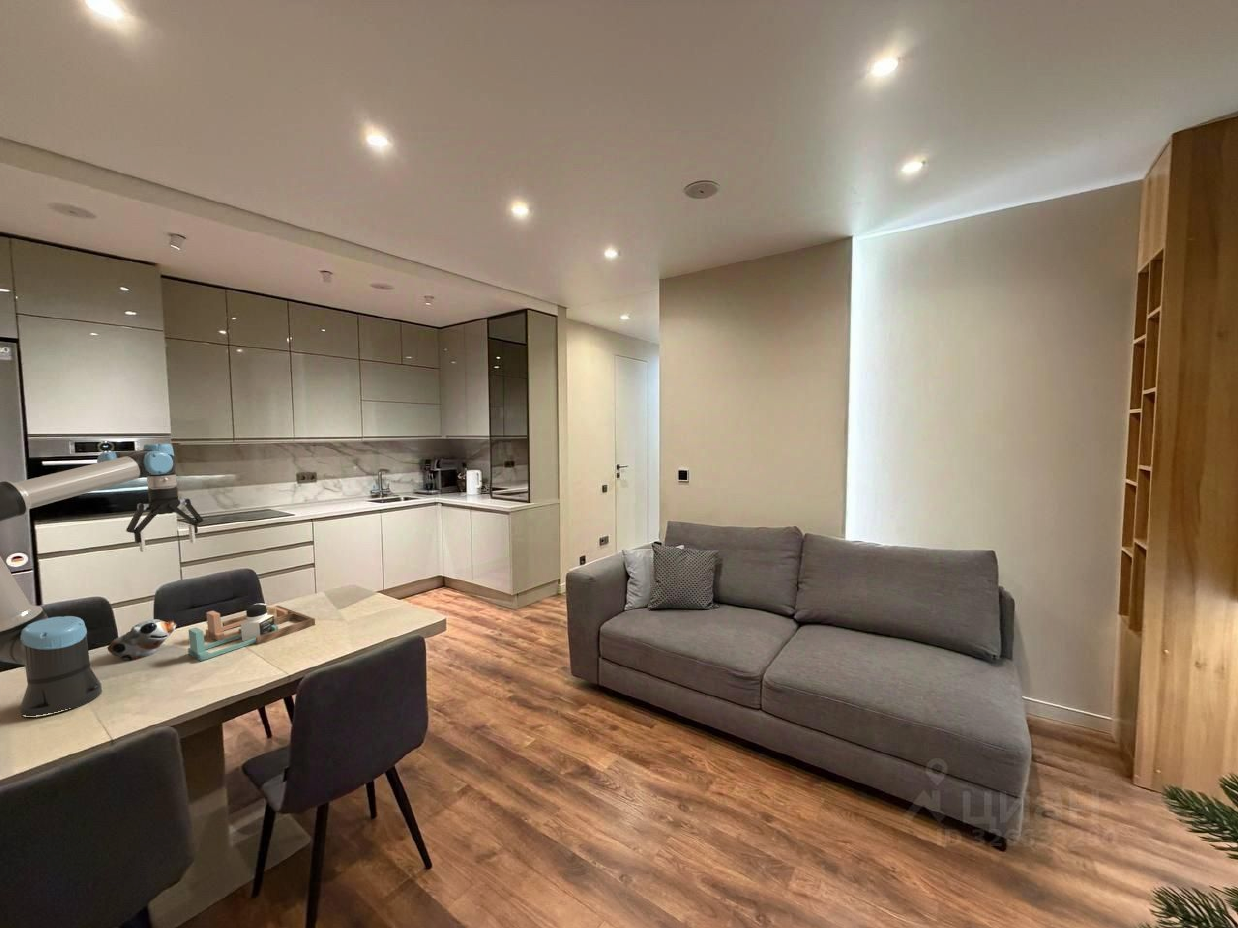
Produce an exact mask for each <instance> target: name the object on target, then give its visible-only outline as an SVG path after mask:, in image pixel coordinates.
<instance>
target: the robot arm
mask: <svg viewBox="0 0 1238 928" xmlns="http://www.w3.org/2000/svg"><path fill="white" fill-rule="evenodd" d="M145 477H146V483H147V487H148V488H149V489H148V490H147V493H148V500H149V501H148V503H137V504H136V510H135V512H134V515H133V517H132V518H131V520H130V522H129V524H128V526H127V528H126V529H125V532H127V533H132V534H134V535H133V536H134V541H135V543H137V544H139V551H140V553H141V552H142V553H145V552H146V551H147V550H146V542H145V541H146V539H145V533H144V532H142V531H143V530H144V529H145V528H146V527H147V525H149V524H150V522H151V521H152V520H154V518H155V517H156V516H158V515H160V516H161V515H165V514H172V513H175V514H177V515H178V516H180V517H181V518H183V519H184V520H185V521H187V522H188V523H190V524H188V526H187V527H188V535H189V543H191V544H196V534H197V533H198V532H199V531H198V530H199V529H198V525H199V524H200V523H203V522H204V519H203V517H202V516H201V515H200V514H199V512H198V511H197V510H196V509H195V508H194V506H193V505H192V502H191V499H190V498H187V497H186V498H183V499H179V495H178V487H177V485H178V484H177V475H176V462H175V452H174V448H173V445H172V444H170V443H147V444H144V445H143V448H142V449H139V450H120V451H119V450H117V451H115V450H113V451H105V452H102V453H100V454H99V455H98V457H97V459H96V463H92V464H88V465H84V466H80V467H75V468H71V469H68V470H67V469H66V470H62V471H57V472H55V473H50V474H46V475H41V476H39V477H33V478H30V479H26V480H21V481H16V482H11V481H8V480H4V481H0V523H2V522H4V521H7V520H10V519H11V520H12V519H13V518H17V517H21V516H24V515H26V514H27V513H28V512H29V510H31V509H34V508H38V507H42V506H44V505H48V504H52V503H55V502H59V501H62V500H66V499H70V498H73V497H77V496H81V495H83V494H87V493H88V494H89V493H91V492H94V491H98V490H103V489H105V488H109V487H112V486H117V485H120V484H123V483H126V482H127V483H128V482H130V481H134V480H138V479H141V478H145ZM180 504H182V506H185V508H186V509H187V511H188V512H189V513H190V514H191V516H192V517H191V516H189V515H188V514H187V513H185V512H184V511H182V510H181V509H180V508H179V506H180ZM147 508H149V509H150V511H149V512H148V514H147V515H146V516H145V518H143V520H142V521H141V522H140V520H141V517H142V515H143V514H144V512H145V511H146V510H147ZM139 522H140V523H139ZM138 523H139V524H138ZM87 629H88V628H87V627H86V624H85V621H84V620H83V619H82V618H81V617H78V616H73V615H65V616H52V617H48V614H47V613H46V612H45V610H44V609H43V608H42V606H37V605H32V604H31V603H30V602H29V600H28V598H27V597H26V595H25V593H24V592H23V591H22V589H21V587H20V585H19V584H18V582H17V580H16V578H15V577H14V576H13V574H12V573H11V570H10V569H9V568H8V567H7V565H6V563H5V561H4V560H3V558H2V557H1V555H0V662H3V663H7V664H8V663H10V664H15V665H21V666H25V674H26V675H25V676H26V682H27V686H26V689H25V692H24V694H23V698H22V701H21V704H20V706H19V707H20V708H19V709H20V714H22V715H26V716H36V715H43V714H48V713H54V712H58V711H61V710H65V709H69V708H74V709H76V708H75V707H77V706H79V707H81V706H83V705H82V704H84V705H86V704H88V703H89V701H90V702H92V701H93V700H95V699H96V698H98V697H99V696H100V695H101V694H102V692H103V687H102V683H101V682H100V680H99V678H98V677H97V676H96V674H95V672H94V671H93V669H92V668H91V664H90V663H91V662H90V653H89V645H88V635H87V634H88V630H87ZM91 700H92V701H91ZM87 702H88V703H87ZM85 703H86V704H85ZM80 705H81V706H80ZM77 708H78V707H77Z"/></svg>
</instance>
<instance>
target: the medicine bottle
mask: <svg viewBox="0 0 1238 928" xmlns="http://www.w3.org/2000/svg"><path fill="white" fill-rule="evenodd" d="M267 607H268V606H267V604H266V603H255V604H251V605H249V606H247V607H246V609H245V613H246V614H245V615H247V619H246V620H244V621H243V622H241V625H240V629H241V633H242V638H241V641H242V642H245V641H248V640H251V639H254V638H256V637H257V636H260V635H263V634H266V633H269V632H271V626H272V625H274V615H267Z"/></svg>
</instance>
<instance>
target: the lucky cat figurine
mask: <svg viewBox="0 0 1238 928" xmlns="http://www.w3.org/2000/svg"><path fill="white" fill-rule="evenodd" d="M176 627H177V623H175V621H174V620H169V621H164V620H161V619H159V618H158V619H154V618H153V619H149V620H144V621H142V622H139V623H138V624H135V625H134V626H132V627H131V628H130V631H127V632H126V633H125V634H122V635H121V636H119V637H117V638H114V639H113V640H112V641H111V642H110V644H109V645H108V646H107V648H106V649H107V651H108V652H109V653H110V654H111V655H113V657H116V658H118V659H121V660H124V659H128V660H129V661H135V660H138V659H142V658H145V657H148V656H152V655H153V654H155V653H156V651H157V650H159V649H160V647H161V646H162V644H163V643H164V642H166V640H167V639H168V638H169V636H171V634H172V633H173V632H174V631H175V630H176Z"/></svg>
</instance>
